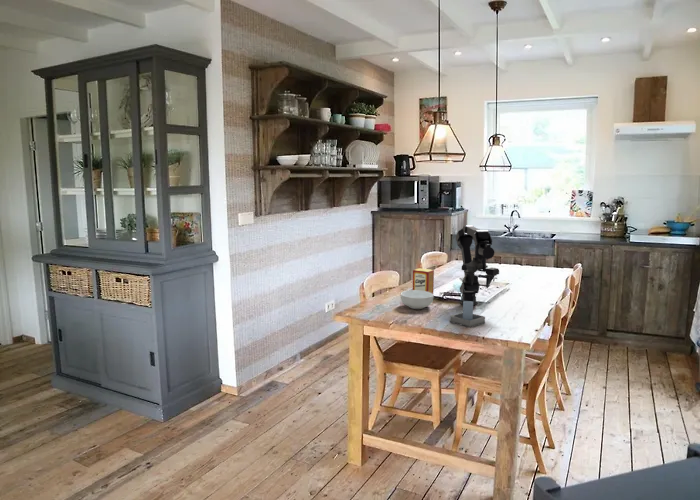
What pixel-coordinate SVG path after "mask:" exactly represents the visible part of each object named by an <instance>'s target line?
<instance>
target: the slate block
mask: <svg viewBox="0 0 700 500" xmlns="http://www.w3.org/2000/svg"><path fill="white" fill-rule="evenodd" d="M462 313H463V319H465V320H469V321H471V320H473V314H474V305H473V301H463V304H462Z"/></svg>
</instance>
